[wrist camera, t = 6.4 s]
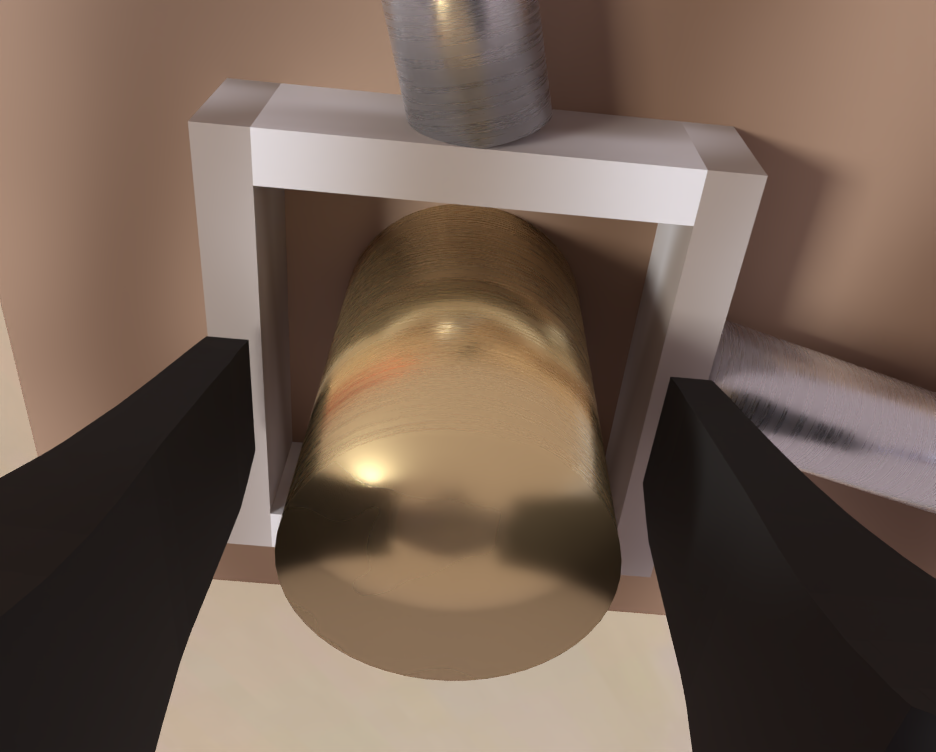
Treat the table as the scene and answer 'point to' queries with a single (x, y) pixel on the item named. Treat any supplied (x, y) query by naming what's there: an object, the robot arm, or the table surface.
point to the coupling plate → (465, 183)
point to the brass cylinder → (453, 458)
